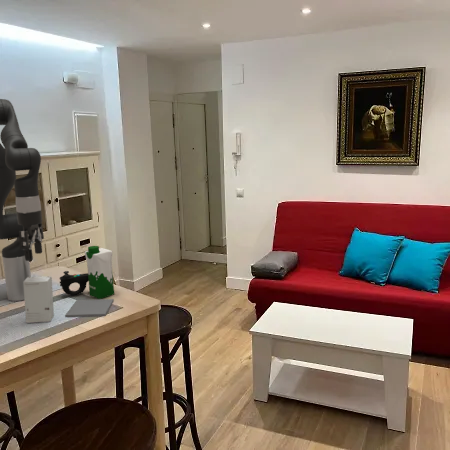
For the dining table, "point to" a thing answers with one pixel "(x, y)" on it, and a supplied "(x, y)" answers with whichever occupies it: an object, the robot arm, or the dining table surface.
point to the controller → (69, 279)
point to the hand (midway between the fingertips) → (34, 256)
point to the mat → (90, 308)
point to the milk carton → (100, 272)
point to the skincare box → (38, 299)
